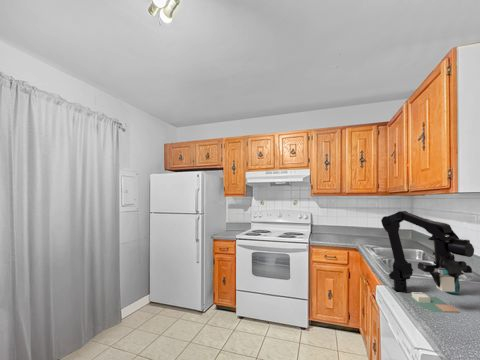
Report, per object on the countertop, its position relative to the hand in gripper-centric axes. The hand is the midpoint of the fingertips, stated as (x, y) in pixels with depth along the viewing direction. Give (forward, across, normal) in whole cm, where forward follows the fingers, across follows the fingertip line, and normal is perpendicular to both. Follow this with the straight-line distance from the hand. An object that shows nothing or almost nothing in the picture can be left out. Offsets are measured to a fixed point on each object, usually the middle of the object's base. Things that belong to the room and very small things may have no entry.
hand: (445, 287), depth 107 cm
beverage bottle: (+10, +13, +18) cm, 24 cm away
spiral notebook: (+9, -6, +8) cm, 14 cm away
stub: (+1, 0, 0) cm, 1 cm away
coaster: (+9, 0, 0) cm, 9 cm away
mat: (+10, -4, +4) cm, 11 cm away
